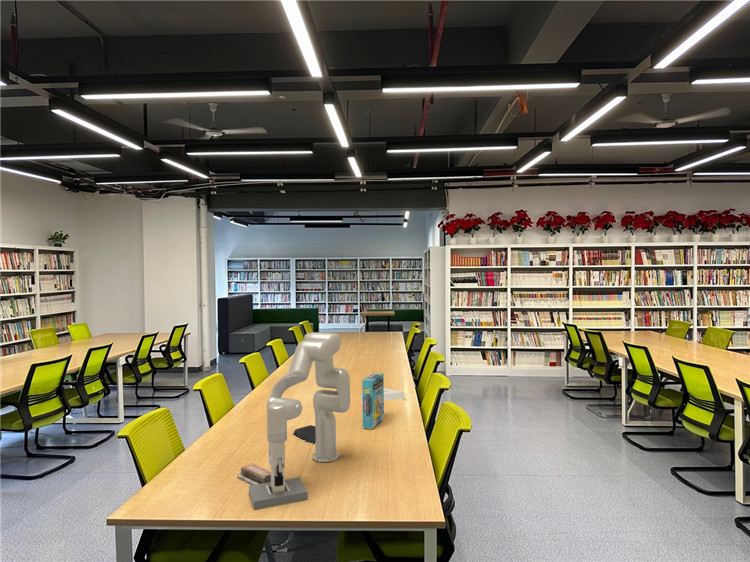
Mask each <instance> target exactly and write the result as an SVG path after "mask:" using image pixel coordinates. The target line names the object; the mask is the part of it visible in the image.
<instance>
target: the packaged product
mask: <svg viewBox="0 0 750 562" xmlns="http://www.w3.org/2000/svg"><path fill="white" fill-rule="evenodd" d="M237 479H239V480H241V481H243V482H244V481H245V482H244V483H245V484H248V485H249V486H251V485H257V484H263V483H268V482H271V470H268V469H266V468H264V467H261V466H260V465H258V464H256V463H249V464H246V465H244V466H241V467H240V473H238V474H237Z"/></svg>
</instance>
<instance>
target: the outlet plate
mask: <svg viewBox="0 0 750 562" xmlns="http://www.w3.org/2000/svg"><path fill="white" fill-rule="evenodd" d="M248 494H249V498H250V502H251V501H252V502H251V505H252V509H253V510H255V509H256V510H260V508H261V509H265V507H266V508H269V506H271V507H276V506H275V505H277V506H280V505H279V504H282V505H285V504H284V503H287V504H291V503H290V502H292V503H297V501H298V502H302V501H307V499H308V496H309V495H308V490H307V488H306V487H305V485H304V483H303V481H302V479H301V478H300V477H299V476H297V477H292V478H287V479H285V491H282V492H277V493H272V492H271V482H268V483H263V484H257V485H248ZM256 510H255V511H256Z"/></svg>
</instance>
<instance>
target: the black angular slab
mask: <svg viewBox="0 0 750 562" xmlns="http://www.w3.org/2000/svg"><path fill="white" fill-rule="evenodd" d="M293 435H295V436H296V437H298V438H300V439H302V440H305V441H307V442H310V443H313V444H315V443H316V437H315V425H312V424H310V425H307V426H306V425H305V426H302V427H299V428H296V429H294V431H293V434H292V436H293ZM295 436H294V437H295ZM296 437H295V438H296ZM298 438H297V439H298ZM300 439H299V440H300ZM302 440H301V441H302ZM305 441H304V442H305ZM307 442H306V443H307ZM310 443H309V444H310ZM313 444H312V445H313ZM315 445H316V444H315Z"/></svg>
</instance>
